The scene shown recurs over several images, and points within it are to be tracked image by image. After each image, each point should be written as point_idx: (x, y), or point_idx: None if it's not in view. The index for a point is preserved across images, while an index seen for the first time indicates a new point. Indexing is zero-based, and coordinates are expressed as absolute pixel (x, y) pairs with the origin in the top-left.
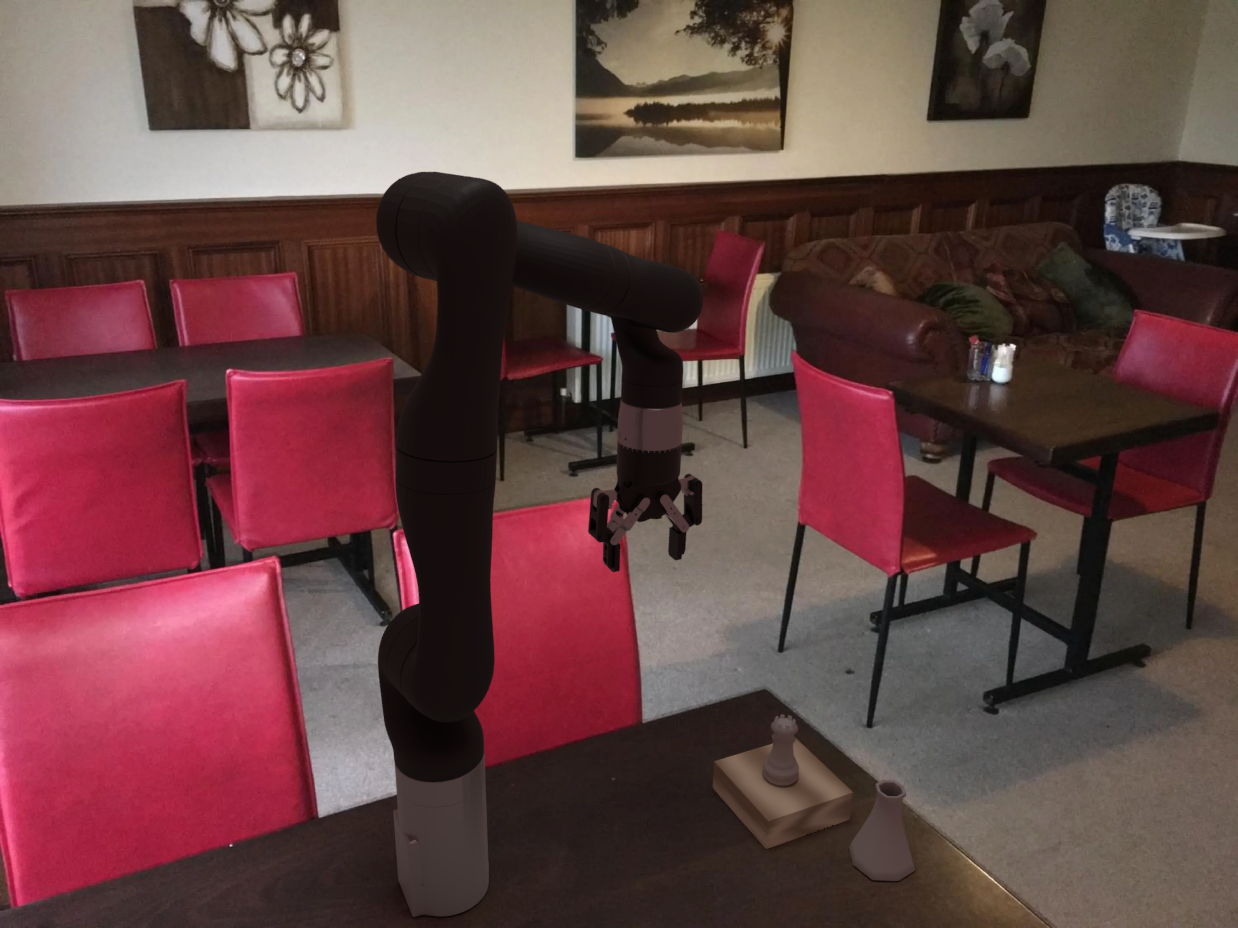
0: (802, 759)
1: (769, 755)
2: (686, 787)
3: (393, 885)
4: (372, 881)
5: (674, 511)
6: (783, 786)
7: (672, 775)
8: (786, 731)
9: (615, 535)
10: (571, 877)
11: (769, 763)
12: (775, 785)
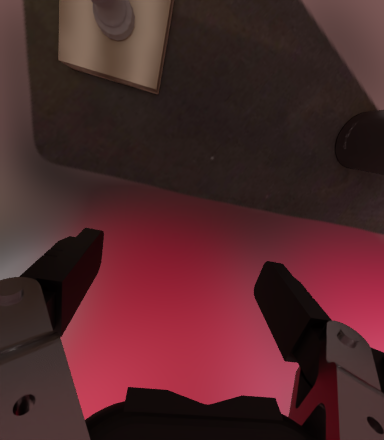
0: (76, 21)
1: (119, 20)
2: (175, 110)
3: None
4: None
5: (16, 429)
6: None
7: (174, 130)
8: None
9: (364, 356)
10: (307, 89)
11: (126, 15)
12: None
